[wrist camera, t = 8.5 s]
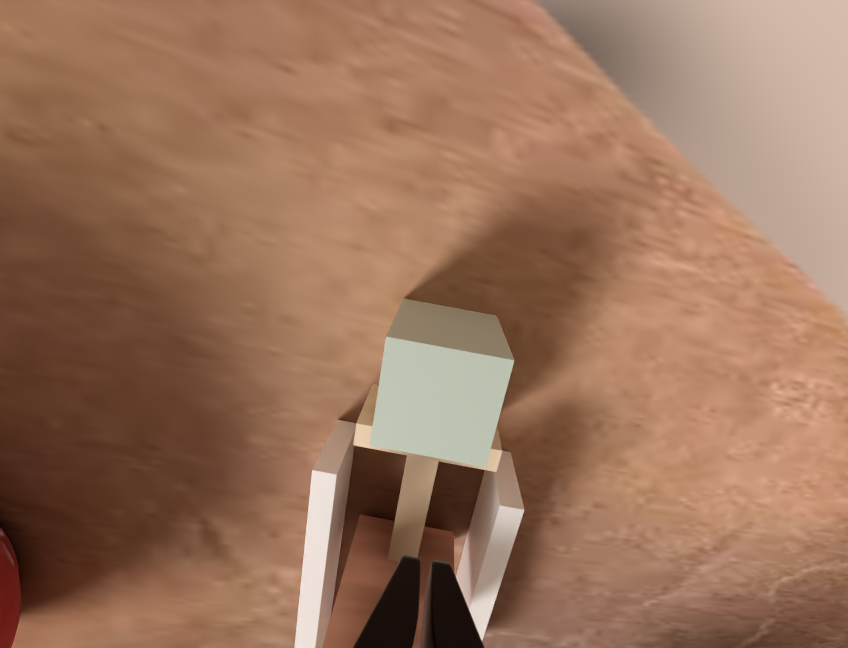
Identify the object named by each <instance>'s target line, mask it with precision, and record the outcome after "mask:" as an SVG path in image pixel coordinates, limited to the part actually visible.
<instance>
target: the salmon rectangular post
mask: <svg viewBox="0 0 848 648" xmlns="http://www.w3.org/2000/svg"><path fill="white" fill-rule="evenodd" d="M378 387H379V385H376V384H372V387H371V389H370V391H369V394H368V396H367V399H366V401H365V404H364V406H363V408H362V411H361V413H360V416H359V418H358V420H357V423H356V429H355V437H354V444H353V445H354V446H360V447H365V448H370V449H376V450H381V451H386V452H392V453H397V454H402V455H407V458H406V463H405V469H404V474H403V479H402V484H401V490H400V495H399V500H398V505H397V511H396V516H395V521H392V520H387V519H382V518H376V517H371V516H366V515H360V516H359V519H358V523H357V526H356V530H355V533H354V537H353V540H352V544H351V547H350V551H349V555H348V558H347V562H346V565H345V569H344V572H343V576H342V579H341V583H340V586H339V590H338V593H337V597H336V600H335V604H334V607H333V611H332V615H331V618H330V622H329V625H328V629H327V632H326V636H325V639H324V643H323V646H322V648H353V646H354V645H355V643H356V641H357V639H358V637H359V635H360V634H361V632H362V630H363V628H364V626H365V624H366V622H367V621H368V619H369V617H370V615H371V613H372V611H373V610H374V608H375V606H376V604H377V602H378V600H379V598H380V597H381V595H382V593H383V591H384V589H385V587H386V585H387V584H388V582H389V580H390V578H391V576H392V574H393V573H394V571H395V569H396V567H397V565H398V563H399V561H400V560H401V558H402V557H403V556H404V555H409V556H415V557H419V558H420V559H421V574H420V595H419V612H418V621H417V627H416V632H415V637H414V642H413V647H412V648H419V647H420V637H421V626H422V615H423V604H424V594H425V588H426V583H427V578H428V574H429V569H430V565H431V562H432V561H433V560H438V561H444V562H448V563H449V564H450V565H451V566H452V569H453V571H454V532H451V531H445V530H440V529H435V528H429V527H424V525H425V521H426V516H427V512H428V507H429V503H430V498H431V494H432V489H433V485H434V480H435V476H436V471H437V467H438V462H439V461H440V462H445V463H450V464H456V465H461V466H466V467H472V468H477V469H482V470H488V471H493V472H497V468H498V465H499V461H500V457H501V454H502V446H501V442H500V437H499V432H498V427H496V431H495V435H494V438H493V442H492V446H491V449H490V453H489V457H488V460H487V464H486V467H482V466H477V465H471V464H466V463H460V462H455V461H450V460H444V459H439V458H434V457H428V456H423V455H418V454H412V453H407V452H402V451H396V450H391V449H386V448H380V447H375V446H370V440H371V433H372V426H373V420H374V413H375V407H376V400H377V394H378Z"/></svg>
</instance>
